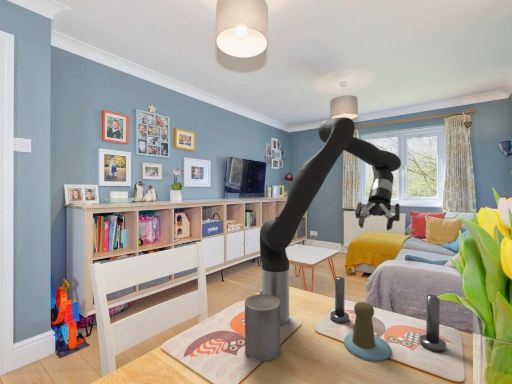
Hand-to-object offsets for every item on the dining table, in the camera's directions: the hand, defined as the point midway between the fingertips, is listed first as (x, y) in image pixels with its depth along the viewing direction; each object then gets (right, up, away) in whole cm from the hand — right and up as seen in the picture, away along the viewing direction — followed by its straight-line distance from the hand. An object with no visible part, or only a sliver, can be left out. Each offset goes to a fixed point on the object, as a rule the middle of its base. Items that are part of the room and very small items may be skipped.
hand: (374, 227), depth 90 cm
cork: (-10, -30, -16) cm, 36 cm away
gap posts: (-2, -31, -9) cm, 32 cm away
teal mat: (-10, -31, -17) cm, 36 cm away
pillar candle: (-39, -31, -18) cm, 53 cm away
